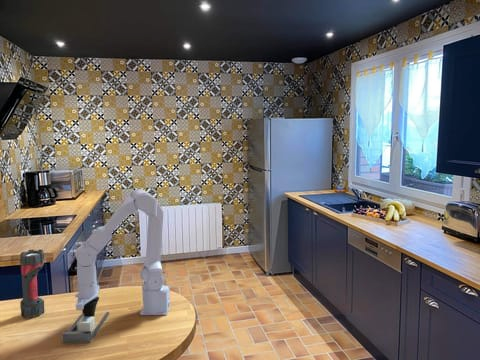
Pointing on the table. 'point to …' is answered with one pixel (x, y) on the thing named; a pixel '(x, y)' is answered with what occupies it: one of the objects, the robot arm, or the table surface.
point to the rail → (81, 332)
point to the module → (86, 324)
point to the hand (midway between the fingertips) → (89, 320)
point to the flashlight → (31, 283)
